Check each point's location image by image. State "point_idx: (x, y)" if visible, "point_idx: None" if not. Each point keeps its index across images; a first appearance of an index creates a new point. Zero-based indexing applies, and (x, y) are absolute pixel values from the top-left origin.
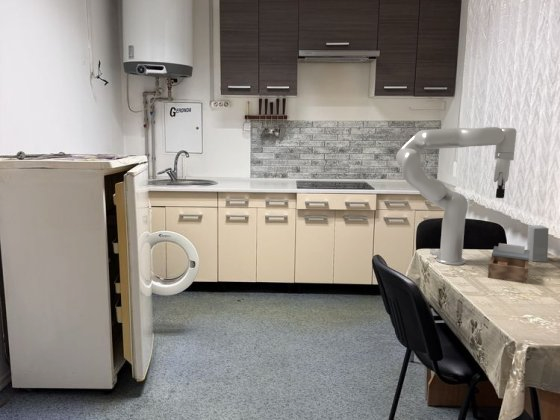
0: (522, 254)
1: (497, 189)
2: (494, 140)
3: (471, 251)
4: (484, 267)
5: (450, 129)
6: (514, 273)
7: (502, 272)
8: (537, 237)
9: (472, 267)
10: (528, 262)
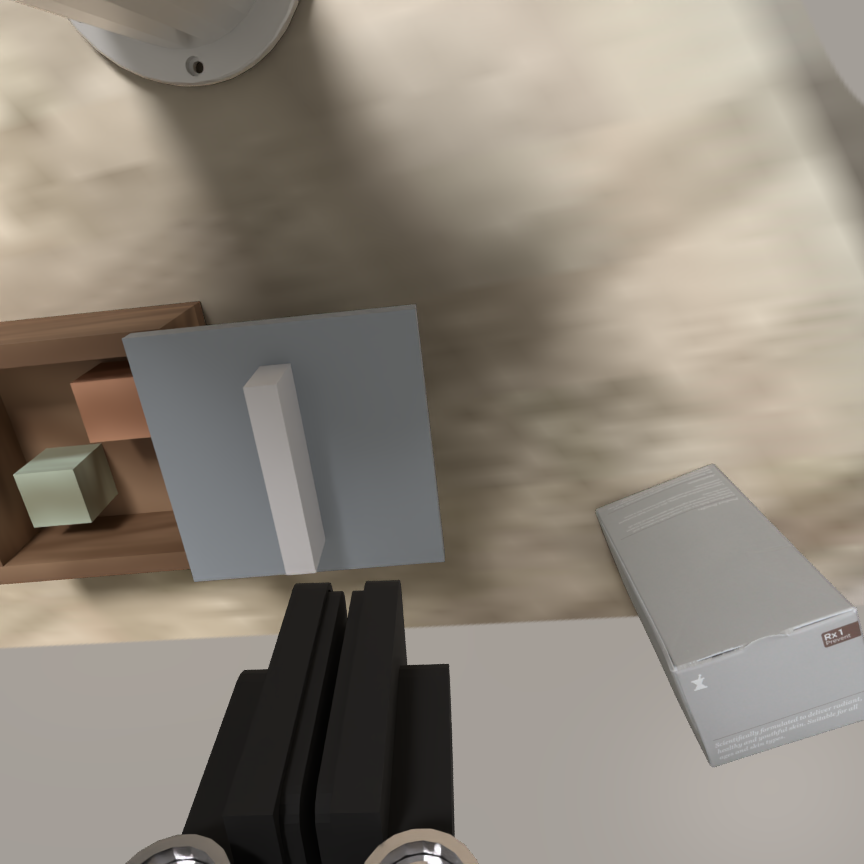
0: (266, 536)
1: (239, 819)
2: None
3: (684, 25)
4: (206, 254)
5: None
6: None
7: None
8: (651, 637)
9: (136, 171)
10: (158, 570)
